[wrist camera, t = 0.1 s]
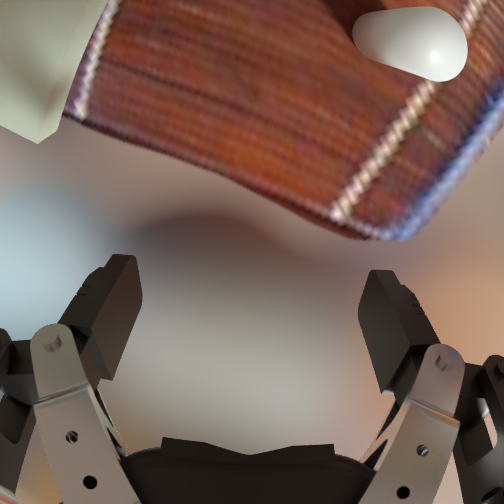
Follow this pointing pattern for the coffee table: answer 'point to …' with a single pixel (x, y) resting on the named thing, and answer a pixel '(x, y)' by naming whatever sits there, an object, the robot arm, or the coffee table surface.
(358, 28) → the white plastic cylinder
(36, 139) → the small green stool
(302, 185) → the coffee table surface
